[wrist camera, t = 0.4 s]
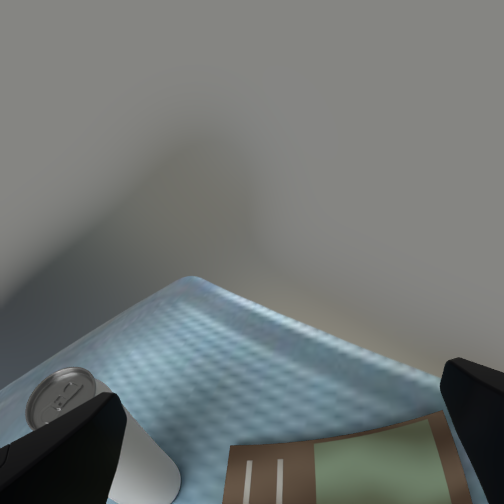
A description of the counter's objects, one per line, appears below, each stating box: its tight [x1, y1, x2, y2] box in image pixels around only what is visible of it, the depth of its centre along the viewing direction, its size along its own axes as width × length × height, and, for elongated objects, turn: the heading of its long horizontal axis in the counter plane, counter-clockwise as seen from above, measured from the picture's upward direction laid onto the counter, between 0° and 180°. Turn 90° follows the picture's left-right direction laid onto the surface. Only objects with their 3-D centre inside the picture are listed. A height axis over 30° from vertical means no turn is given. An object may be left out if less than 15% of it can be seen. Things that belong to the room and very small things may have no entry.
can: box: [25, 367, 181, 504], centre depth 16 cm, size 6×6×12 cm
